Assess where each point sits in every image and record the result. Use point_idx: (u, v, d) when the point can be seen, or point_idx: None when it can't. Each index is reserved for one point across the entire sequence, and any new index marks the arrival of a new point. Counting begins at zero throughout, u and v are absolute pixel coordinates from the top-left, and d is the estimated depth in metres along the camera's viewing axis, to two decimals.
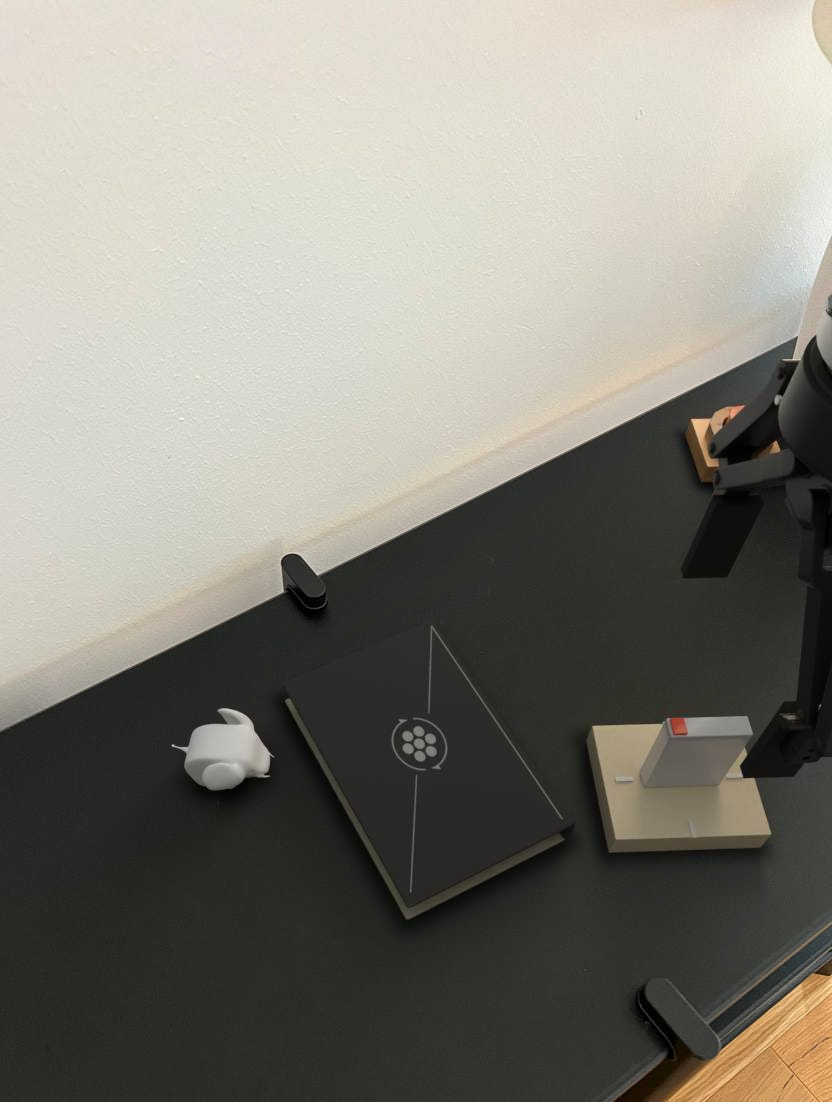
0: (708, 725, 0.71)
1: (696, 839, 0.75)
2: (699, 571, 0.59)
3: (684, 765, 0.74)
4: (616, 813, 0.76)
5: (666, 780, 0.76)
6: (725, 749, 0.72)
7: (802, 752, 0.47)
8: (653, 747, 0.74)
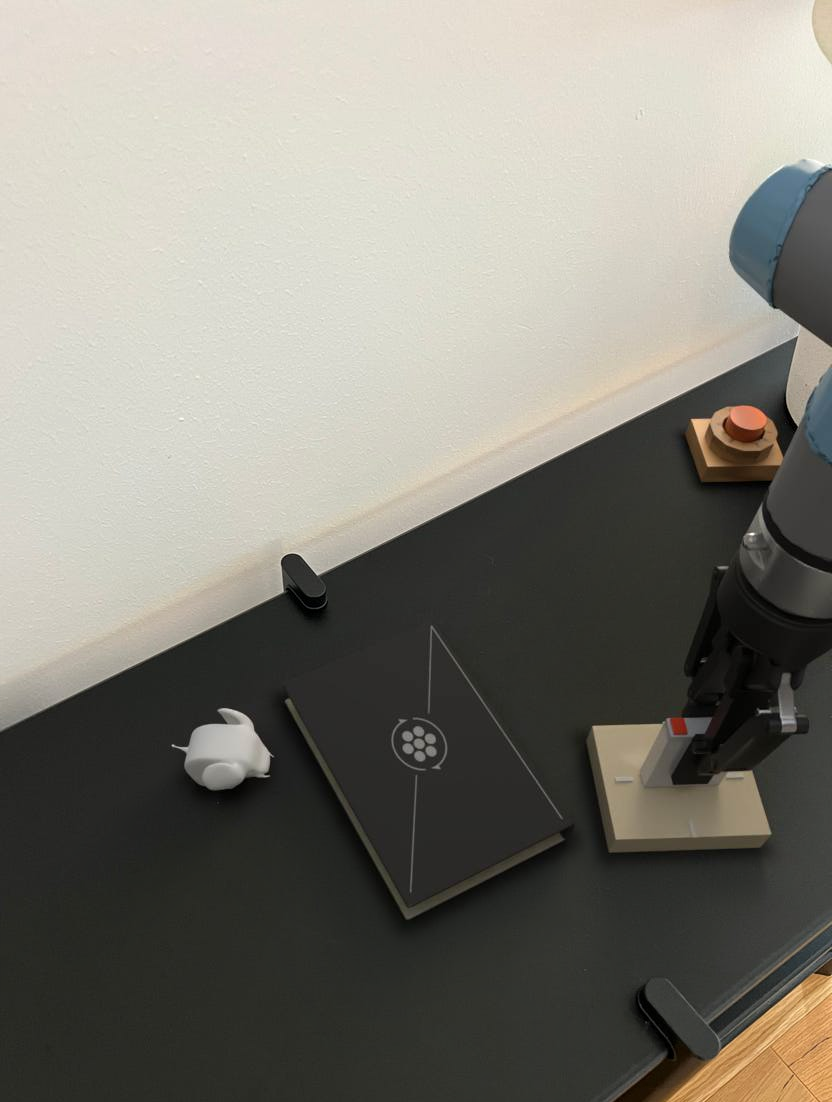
0: (708, 725, 0.71)
1: (696, 839, 0.75)
2: None
3: None
4: (616, 813, 0.76)
5: (666, 780, 0.76)
6: None
7: (708, 768, 0.70)
8: (653, 747, 0.74)
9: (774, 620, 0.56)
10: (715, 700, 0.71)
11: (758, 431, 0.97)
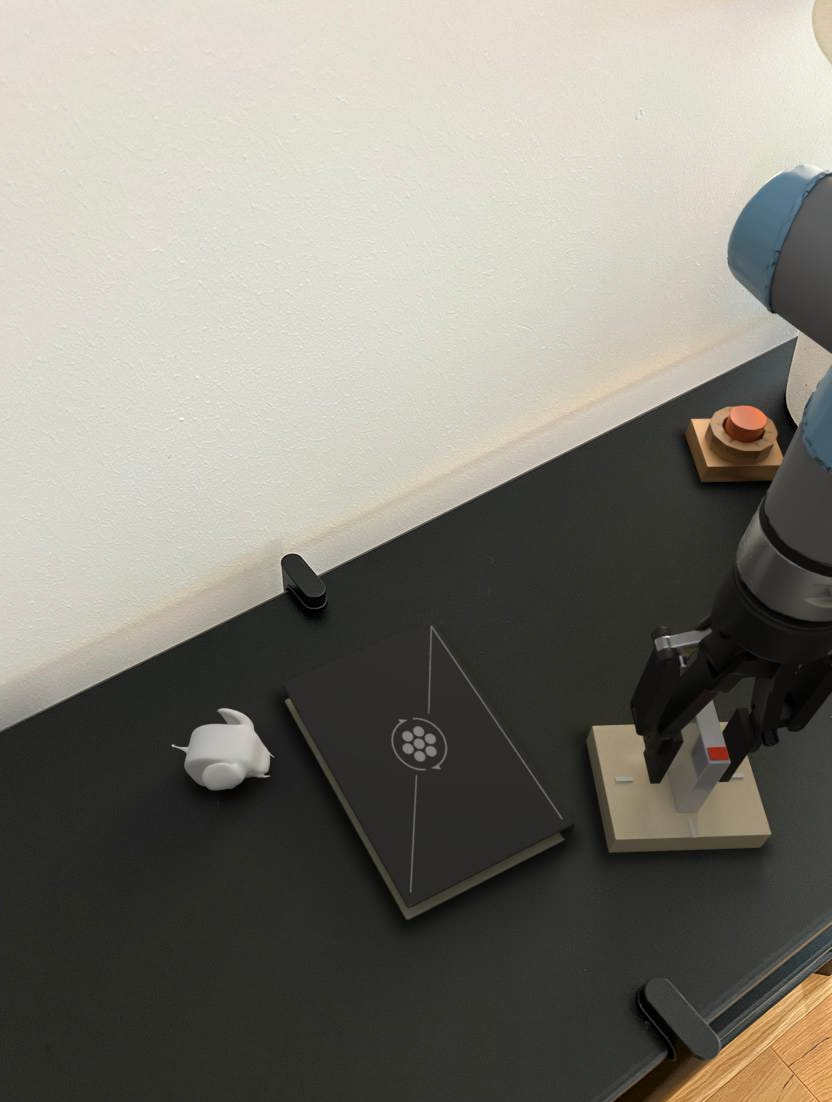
0: (709, 727, 0.71)
1: (696, 839, 0.75)
2: None
3: None
4: (616, 813, 0.76)
5: None
6: None
7: None
8: (697, 788, 0.72)
9: None
10: None
11: (758, 431, 0.97)
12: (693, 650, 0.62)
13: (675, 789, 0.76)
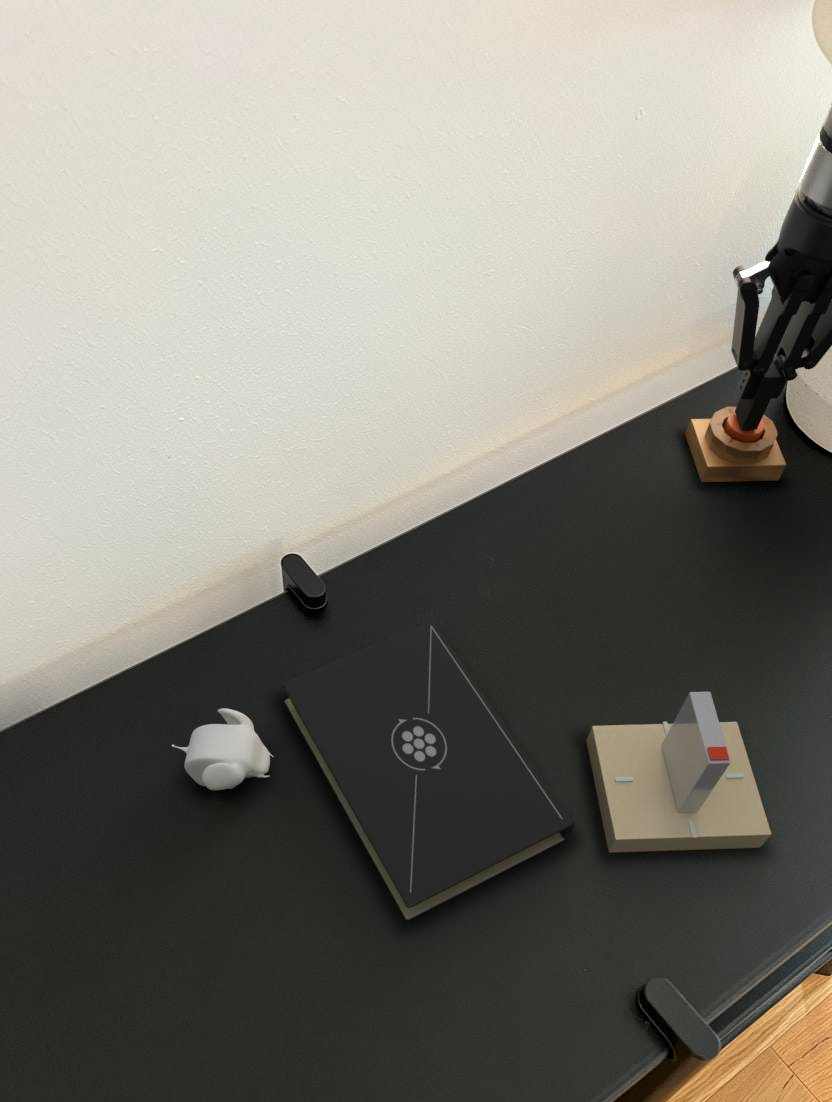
0: (709, 727, 0.71)
1: (696, 839, 0.75)
2: None
3: None
4: (616, 813, 0.76)
5: None
6: None
7: None
8: (697, 788, 0.72)
9: None
10: None
11: (756, 436, 0.97)
12: (766, 276, 0.84)
13: (675, 789, 0.76)
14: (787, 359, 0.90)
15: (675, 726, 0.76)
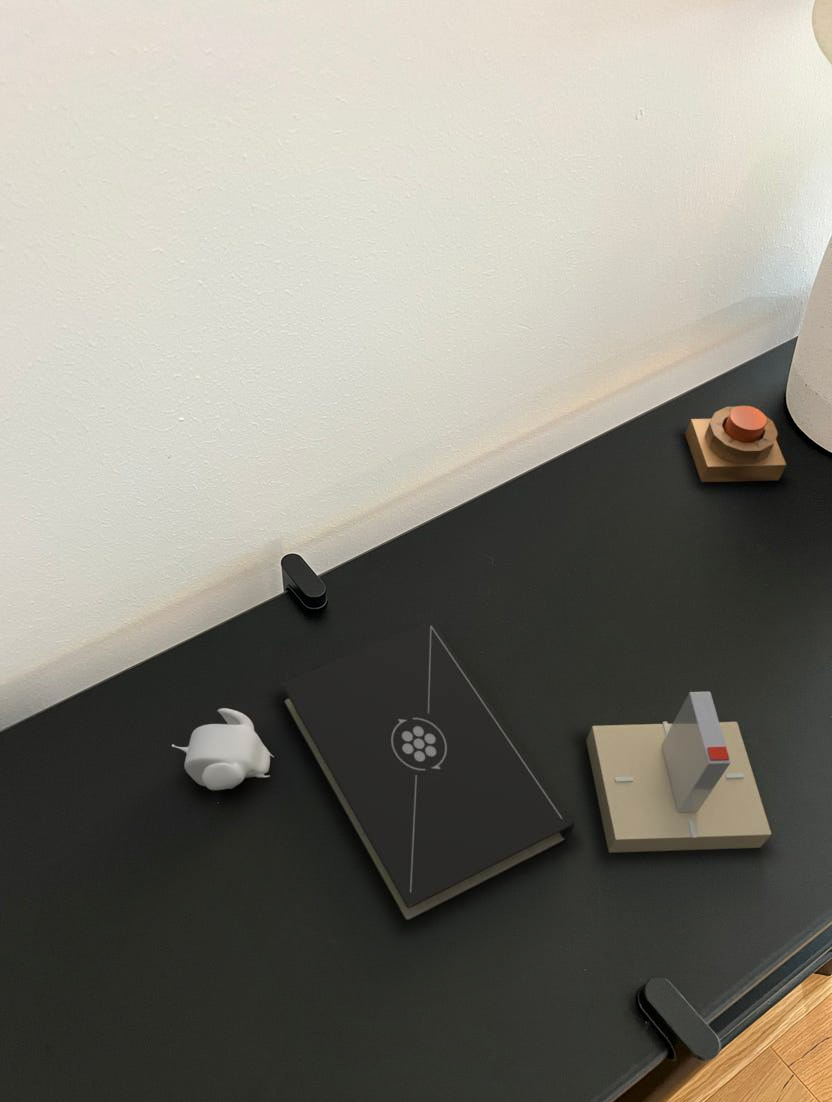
0: (709, 727, 0.71)
1: (696, 839, 0.75)
2: None
3: None
4: (616, 813, 0.76)
5: None
6: None
7: None
8: (697, 788, 0.72)
9: None
10: None
11: (758, 431, 0.97)
12: None
13: (675, 789, 0.76)
14: None
15: (675, 726, 0.76)
